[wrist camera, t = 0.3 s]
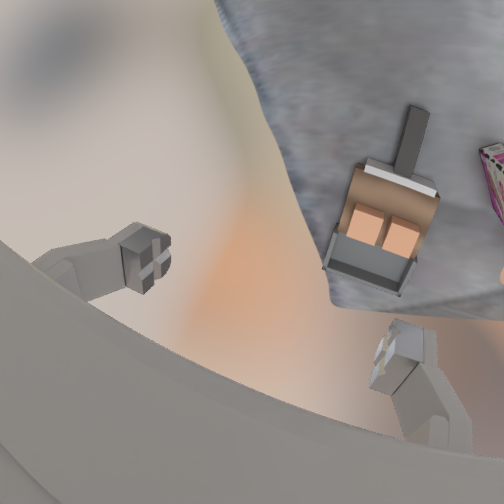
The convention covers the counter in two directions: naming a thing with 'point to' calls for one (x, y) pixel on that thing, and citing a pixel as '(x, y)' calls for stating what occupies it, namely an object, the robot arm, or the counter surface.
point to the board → (389, 204)
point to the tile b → (400, 237)
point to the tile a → (365, 224)
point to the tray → (368, 264)
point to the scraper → (406, 155)
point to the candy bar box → (495, 175)
